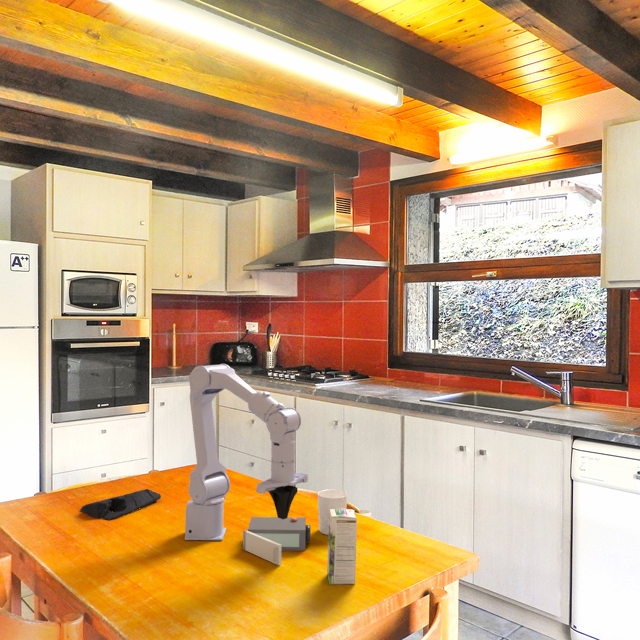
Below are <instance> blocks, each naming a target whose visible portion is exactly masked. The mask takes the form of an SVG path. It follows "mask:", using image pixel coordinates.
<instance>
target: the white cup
mask: <svg viewBox="0 0 640 640" xmlns="http://www.w3.org/2000/svg"><path fill="white" fill-rule="evenodd" d="M347 502H348V493H347V492H346V491H345V490H340V489H329V488H328V489H324V490H323V489H322V490H320V491H318V492H317V512H318V531H319V532H320V533H321V534H323V535H326V536H329V511H330V509H348V508H347V506H348V503H347Z"/></svg>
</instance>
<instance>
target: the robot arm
mask: <svg viewBox="0 0 640 640" xmlns="http://www.w3.org/2000/svg"><path fill="white" fill-rule="evenodd" d="M235 370H236V369H234V368H232V367H230V366H229V365H228V364H226V363H220V364H211V365H197V366H195V367H194V368H193V369H192V371H191V373H189V375H188V382H189V389H190V391H189V402H190V403H189V404H190V405H189V406H190V412H191V421H192V429H193V430H192V431H193V438H194V448H195V457H196V465H195V466H194V468H193V469H192V471H191V472H190V473H189V485H188V494H189V497H190V499H191V500H188V501H187V503H186V507H185V529H184V530H185V531H184V534H185V535H184V540H185V541H222V540H224V536H225V535H226V531H227V527H224V500H226V495H227V494H228V493H229V492H230V488H231V481H230V478H229V476H228V474H227V468H226V466H225V465H223V464H222V463H221V462H220V461H219V455H218V454H219V453H218V447H217V439H216V438H217V437H216V430H215V422H214V421H215V420H214V411H213V403H212V402H213V401H214V399H215V398H216V397H217V395H218V394H219V393H221V392H222V391H224V390H227V391H228V392H229V393H232V394H233V395H235V396H236V397H238V398H239V399H241V401H244V402H245V403H247V408H248V411H250V412H251V413H252V414H253V415H254V416H255V417H256V418H257V417H258V419H260V420H261V421H262V422H264V423H265V424H266V428H267V431H268V433H269V438H270V441H271V451H270V452H271V453H270V454H271V457H270V458H271V459H270V477H269V478H267V479H266V480H263V481H261V482H259V483H257V484H256V493H258V494H261V495H264V494H266V492H268V493H269V496H271V500H272V501H273V504H274V507H275V512H276V515H277V517H278V518H281V519H286V518H287V517H289V513H290V508H291V505H292V503H293V500H294V499H295V497H296V495H297V493H298V487H296V485H298V484H302V483H303V484H304V483H308V482H309V481H308V478H309V477H308V476H309V475H308V474H307V473H305V472H299V473H296V459H297V457H296V451H297V448H296V447H297V442H296V441H297V431H298V430H299V429H300V427H301V425H302V417H301V414H300V413H299V412H298V410H296V408H294V407H292V406H291V407H286V406H284V405H285V404H283V403H282V402H278V401H277V400H276V399H274V398H273V397H271V393H270V392H269V391H262V390H261V391H256V390H255V389H254V388H252V387H251V386H250V385H249V384H248V383H247V382H246V381H244V380H243V379H242V378H241V377H240V376H239V375H238V374H236V371H235Z"/></svg>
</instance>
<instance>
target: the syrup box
mask: <svg viewBox="0 0 640 640" xmlns="http://www.w3.org/2000/svg"><path fill="white" fill-rule="evenodd" d="M357 529H358V518H357V514H356V512H355V509H351V508H350V509H349V508H347V509H330V511H329V535H327V536H328V537H327V540H328V542H327V580H328V585H354V584H356V572H357V571H356V565H357V563H356V562H357V537H358V536H357V533H358V530H357Z"/></svg>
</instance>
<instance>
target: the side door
mask: <svg viewBox="0 0 640 640" xmlns="http://www.w3.org/2000/svg"><path fill="white" fill-rule="evenodd" d="M242 531H243V533H242V550H243V551H245V552H249V554H253V555H255V556H257V557H259V558H262V559H264V560H266V561H269V562H270V563H273V564H275V565H277V566H280V565H282V550H281V549H282V545H281V544H279V543H276V542H274V541H271V540H269V539H267V538H264V537H262V536H259V535H257V534H254V533H252V532H250V531H248V529H244V530H242Z"/></svg>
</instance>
